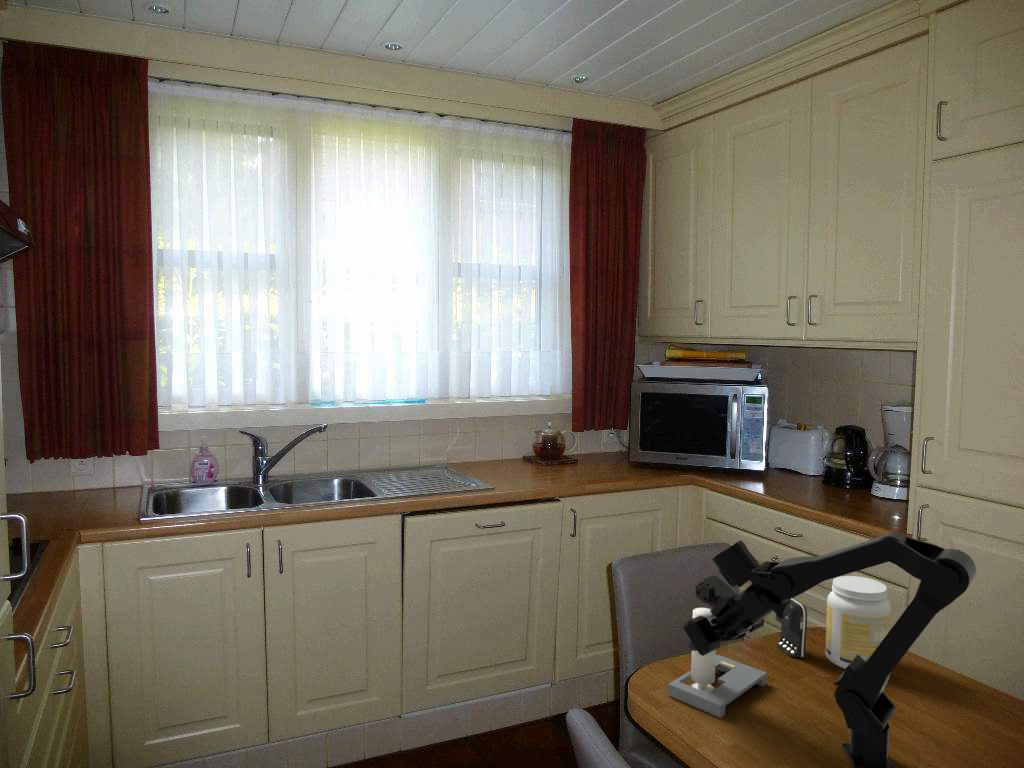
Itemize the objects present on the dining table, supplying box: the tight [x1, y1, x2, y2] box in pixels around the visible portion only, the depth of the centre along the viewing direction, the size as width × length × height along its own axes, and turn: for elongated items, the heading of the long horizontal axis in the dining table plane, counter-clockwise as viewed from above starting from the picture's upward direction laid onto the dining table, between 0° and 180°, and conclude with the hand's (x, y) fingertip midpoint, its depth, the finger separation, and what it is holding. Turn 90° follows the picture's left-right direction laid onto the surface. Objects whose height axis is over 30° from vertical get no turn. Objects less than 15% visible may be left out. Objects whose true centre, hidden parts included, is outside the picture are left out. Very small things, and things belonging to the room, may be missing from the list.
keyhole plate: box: [667, 654, 768, 719], centre depth 144 cm, size 18×11×2 cm, turn 135°
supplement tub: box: [824, 575, 892, 670], centre depth 155 cm, size 12×12×17 cm
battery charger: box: [775, 598, 808, 658], centre depth 160 cm, size 7×4×11 cm, turn 13°
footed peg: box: [690, 607, 716, 693], centre depth 142 cm, size 4×4×16 cm
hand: (697, 644), depth 143 cm, fingers closed on footed peg, 4 cm apart
